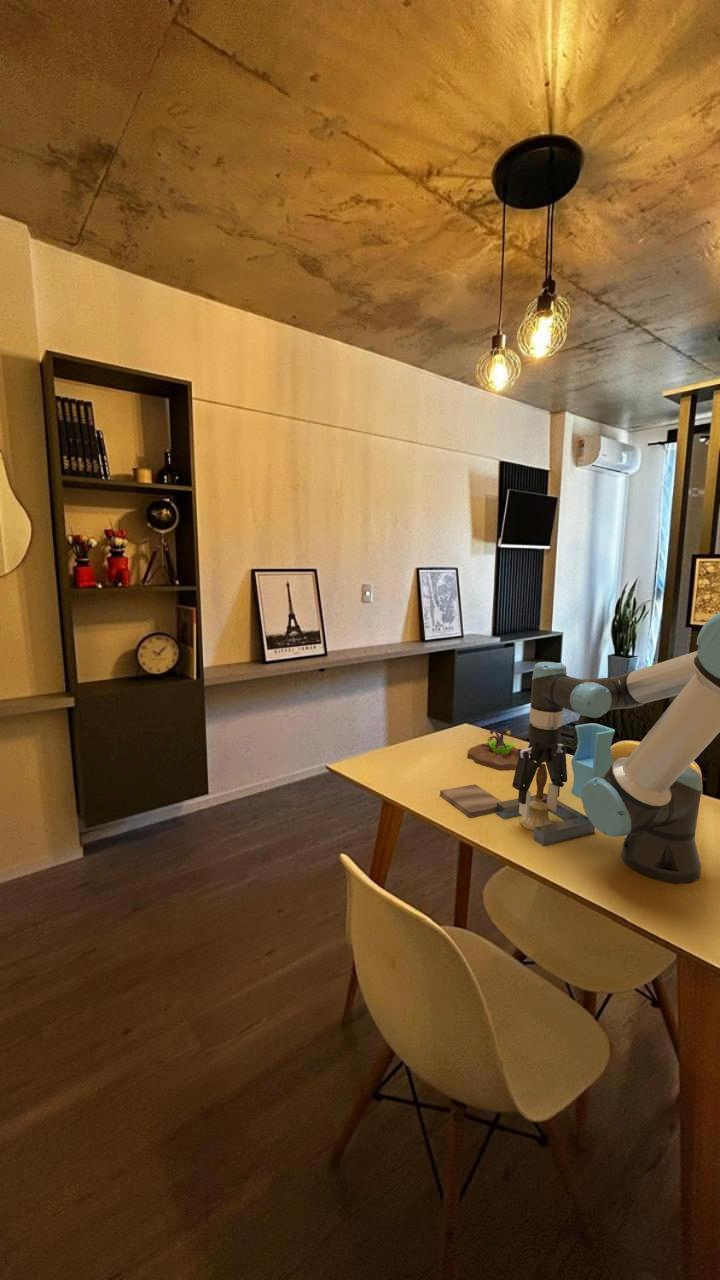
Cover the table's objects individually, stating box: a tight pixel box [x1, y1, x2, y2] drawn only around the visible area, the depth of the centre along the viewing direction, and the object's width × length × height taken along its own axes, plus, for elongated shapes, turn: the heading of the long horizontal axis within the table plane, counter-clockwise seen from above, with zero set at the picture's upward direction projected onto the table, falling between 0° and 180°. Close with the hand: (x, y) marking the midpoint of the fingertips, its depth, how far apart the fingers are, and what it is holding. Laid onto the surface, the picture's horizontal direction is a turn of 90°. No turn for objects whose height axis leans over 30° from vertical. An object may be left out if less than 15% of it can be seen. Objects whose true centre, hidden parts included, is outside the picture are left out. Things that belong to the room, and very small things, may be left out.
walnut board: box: [439, 784, 503, 819], centre depth 143 cm, size 14×12×2 cm
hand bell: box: [519, 763, 554, 832], centre depth 131 cm, size 8×8×16 cm
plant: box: [467, 728, 535, 772], centre depth 176 cm, size 20×20×11 cm
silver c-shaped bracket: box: [495, 792, 596, 846], centre depth 133 cm, size 17×16×3 cm
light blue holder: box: [570, 722, 616, 799], centre depth 149 cm, size 8×8×20 cm
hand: (537, 812), depth 132 cm, fingers open, 8 cm apart
